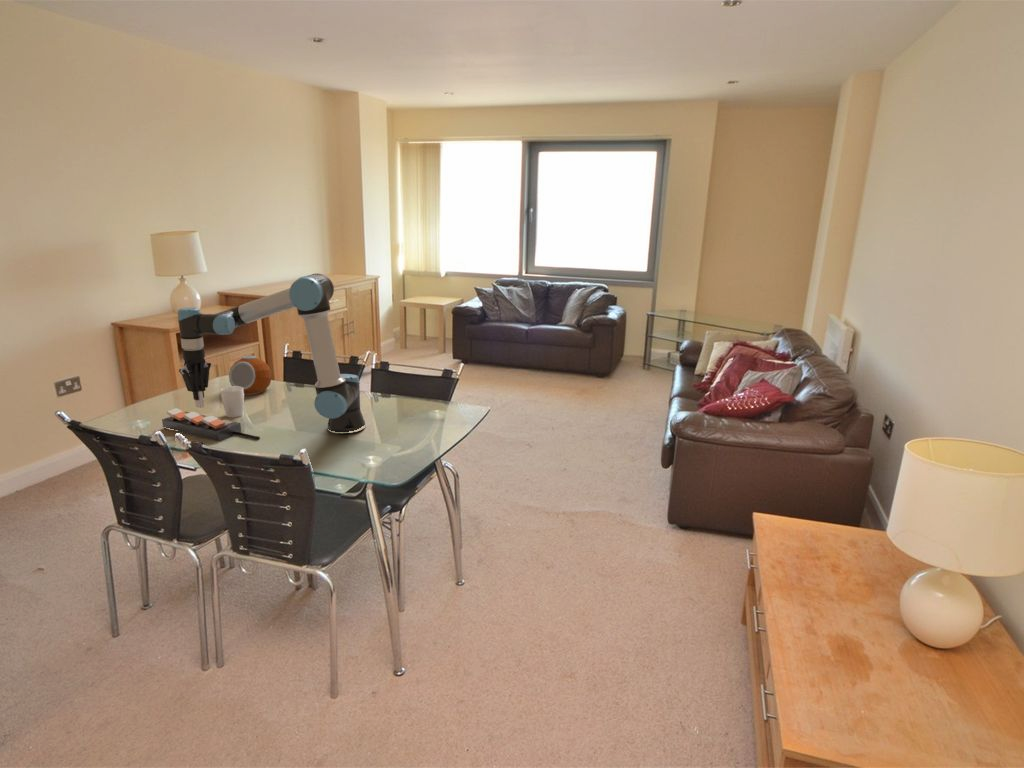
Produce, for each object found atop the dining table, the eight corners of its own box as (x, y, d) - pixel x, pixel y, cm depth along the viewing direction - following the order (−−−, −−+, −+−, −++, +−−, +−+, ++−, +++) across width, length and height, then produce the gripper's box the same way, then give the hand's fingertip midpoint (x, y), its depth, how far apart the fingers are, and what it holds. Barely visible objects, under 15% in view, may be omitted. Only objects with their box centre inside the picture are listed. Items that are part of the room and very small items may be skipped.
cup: (237, 419, 255) (234, 392, 251) (218, 417, 256) (215, 390, 253) (250, 412, 263) (247, 386, 260) (232, 410, 265) (229, 384, 262)
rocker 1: (189, 417, 242) (189, 414, 242) (179, 420, 238) (179, 418, 237) (176, 410, 244) (176, 408, 243) (166, 413, 240) (166, 411, 239)
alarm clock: (222, 394, 287) (219, 359, 282) (244, 384, 303) (241, 351, 298) (259, 397, 284) (256, 362, 279) (279, 387, 301) (276, 354, 296)
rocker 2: (206, 421, 239) (207, 418, 238) (197, 424, 235) (197, 422, 234) (193, 414, 240) (194, 411, 240) (184, 417, 236) (184, 414, 236)
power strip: (264, 437, 237) (263, 425, 235) (243, 446, 227) (241, 434, 226) (186, 420, 252) (185, 409, 250) (163, 428, 242) (161, 416, 240)
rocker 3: (224, 425, 235) (225, 422, 235) (215, 428, 231) (215, 425, 231) (211, 417, 237) (211, 415, 237) (201, 421, 233) (202, 418, 233)
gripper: (200, 344, 235) (206, 401, 242) (170, 350, 224) (178, 410, 230) (214, 346, 233) (220, 403, 239) (185, 353, 221) (193, 413, 228)
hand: (200, 406), depth 235 cm, fingers closed
